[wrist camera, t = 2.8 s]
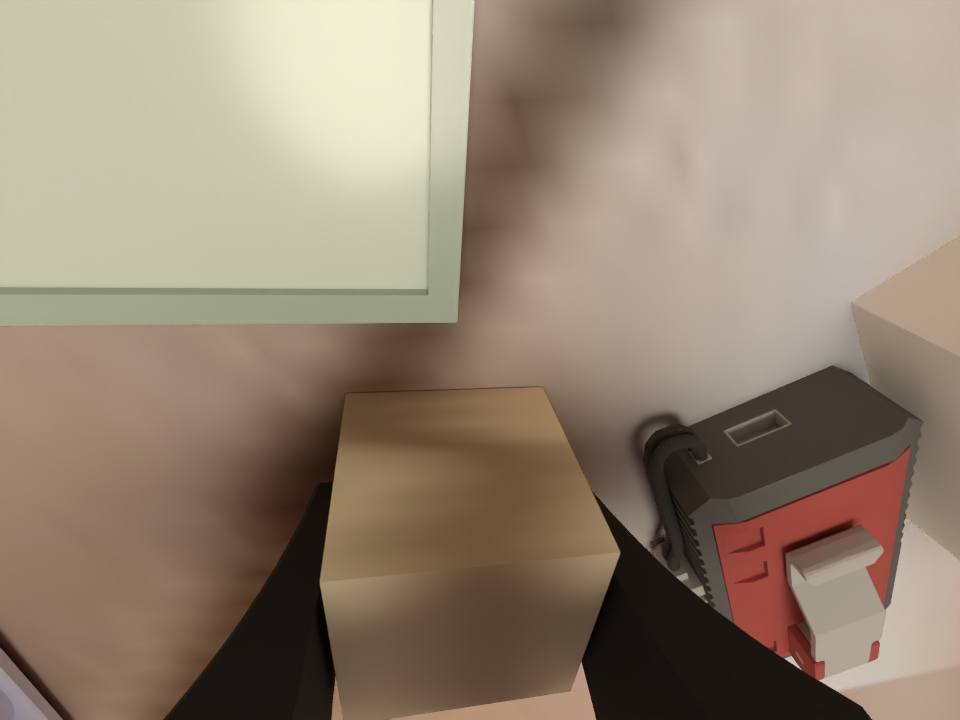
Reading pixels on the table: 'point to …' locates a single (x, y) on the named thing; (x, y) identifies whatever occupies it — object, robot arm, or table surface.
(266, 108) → the sage tile
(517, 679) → the beech cube
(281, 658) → the robot arm
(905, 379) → the milk
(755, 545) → the walkie-talkie
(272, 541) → the table surface
